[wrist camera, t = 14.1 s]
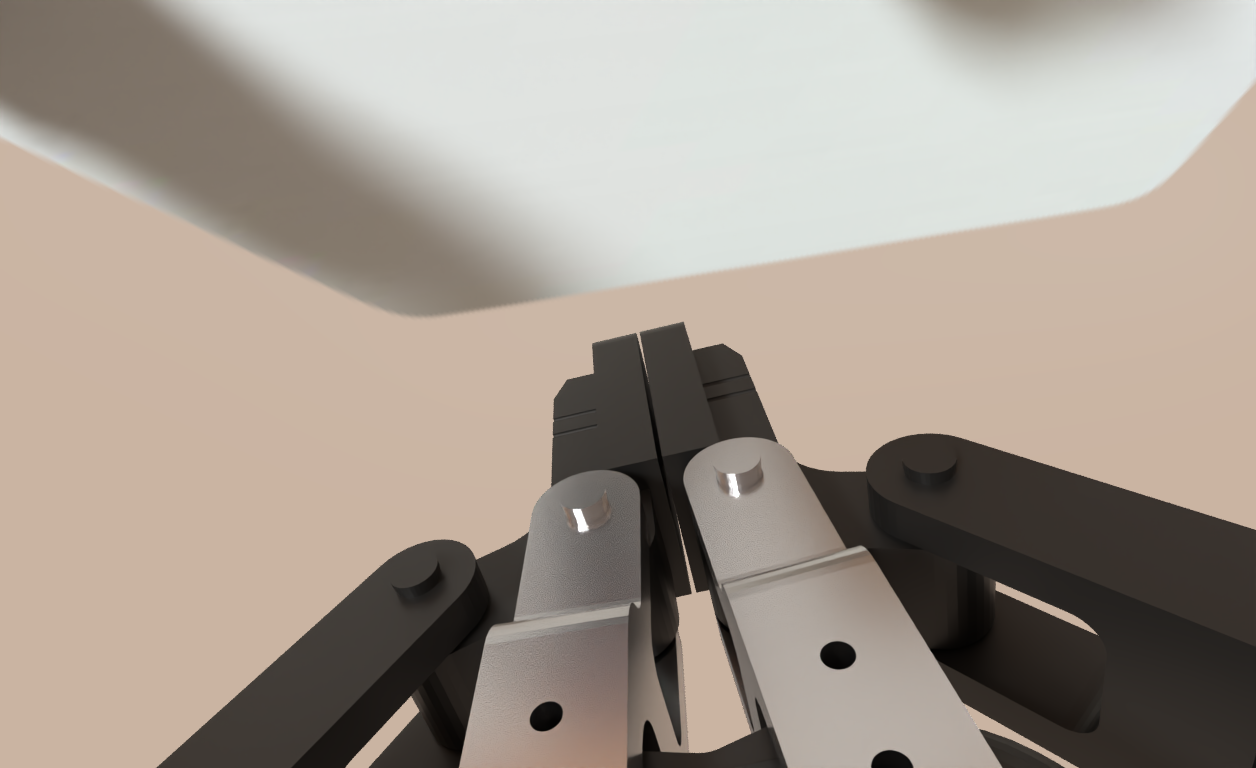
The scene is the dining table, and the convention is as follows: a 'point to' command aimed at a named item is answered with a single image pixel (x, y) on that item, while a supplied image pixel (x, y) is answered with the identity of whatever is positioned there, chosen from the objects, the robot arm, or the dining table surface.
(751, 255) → the dining table surface
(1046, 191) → the dining table surface
